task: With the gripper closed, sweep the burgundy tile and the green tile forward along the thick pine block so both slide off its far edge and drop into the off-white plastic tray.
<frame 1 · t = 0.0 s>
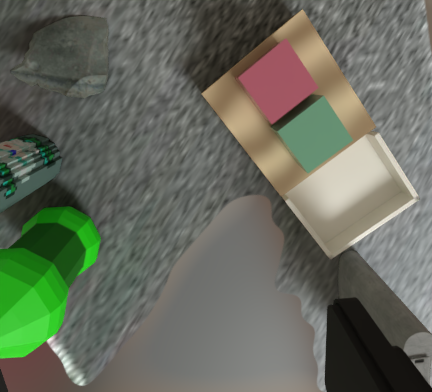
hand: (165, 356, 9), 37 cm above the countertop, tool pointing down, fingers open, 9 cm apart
plastic bottle: (72, 229, 48), on the countertop
hip flask: (350, 295, 54), on the countertop
green tile: (305, 130, 41), point 4 cm above the countertop, touching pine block
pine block: (283, 108, 44), on the countertop
stone: (75, 52, 41), on the countertop
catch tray: (342, 191, 48), on the countertop
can: (38, 158, 45), on the countertop
burgundy tile: (271, 82, 39), point 4 cm above the countertop, touching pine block
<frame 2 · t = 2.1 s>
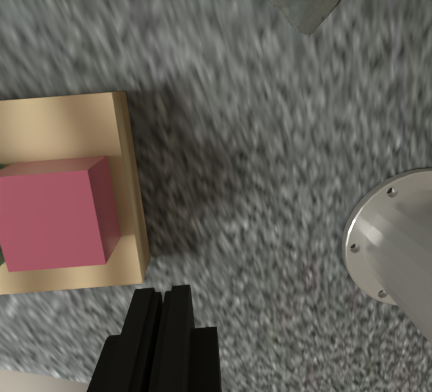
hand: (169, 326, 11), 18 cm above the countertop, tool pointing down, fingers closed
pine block: (40, 188, 28), on the countertop
burgundy tile: (71, 201, 24), point 4 cm above the countertop, touching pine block
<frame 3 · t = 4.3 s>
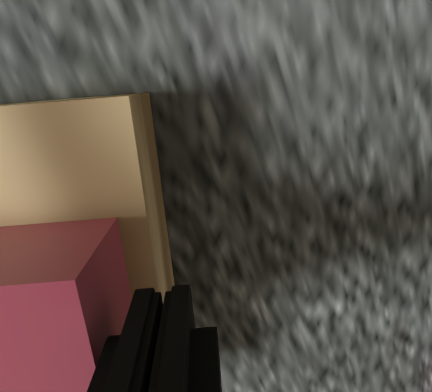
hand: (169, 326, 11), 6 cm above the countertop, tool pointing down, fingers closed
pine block: (5, 255, 17), on the countertop
burgundy tile: (51, 297, 13), point 4 cm above the countertop, touching gripper, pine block
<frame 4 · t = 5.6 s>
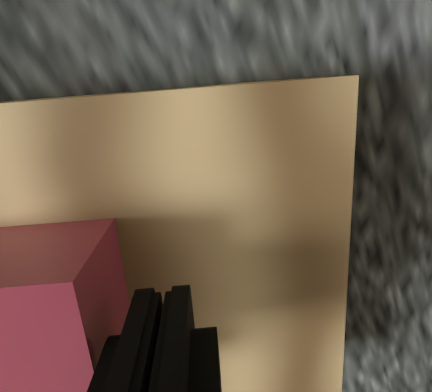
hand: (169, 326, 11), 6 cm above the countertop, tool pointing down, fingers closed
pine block: (151, 242, 17), on the countertop
burgundy tile: (47, 298, 13), point 4 cm above the countertop, touching gripper, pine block
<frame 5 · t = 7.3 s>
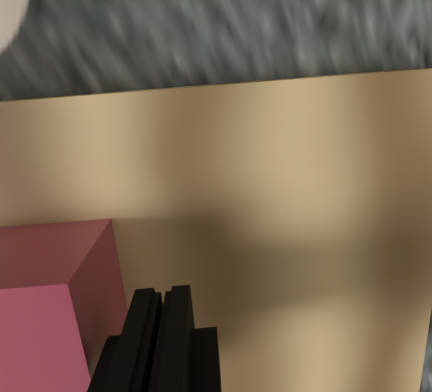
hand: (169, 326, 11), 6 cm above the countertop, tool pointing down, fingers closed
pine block: (220, 236, 17), on the countertop
burgundy tile: (43, 299, 13), point 4 cm above the countertop
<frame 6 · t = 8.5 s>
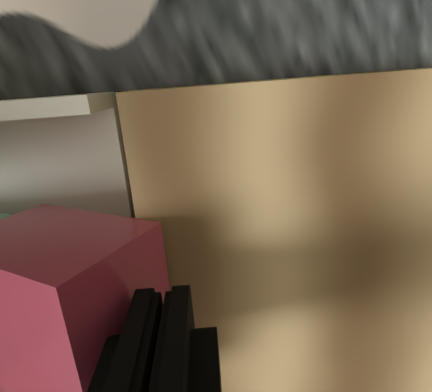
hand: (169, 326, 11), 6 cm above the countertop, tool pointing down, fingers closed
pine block: (325, 228, 17), on the countertop
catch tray: (23, 253, 16), on the countertop
burgundy tile: (109, 282, 14), point 3 cm above the countertop, tilted 31°, touching green tile, gripper
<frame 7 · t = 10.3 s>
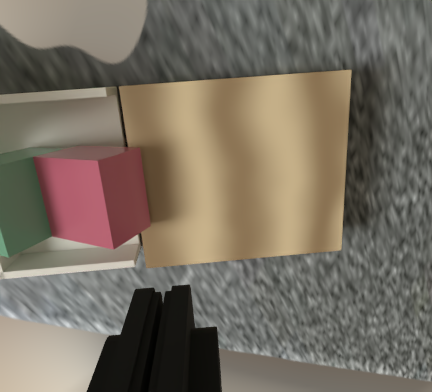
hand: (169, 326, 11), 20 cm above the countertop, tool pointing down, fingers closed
green tile: (38, 199, 24), point 5 cm above the countertop, tilted 121°, touching burgundy tile, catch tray
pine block: (234, 164, 29), on the countertop
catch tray: (64, 178, 29), on the countertop
burgundy tile: (114, 185, 26), point 3 cm above the countertop, tilted 31°, touching green tile, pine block
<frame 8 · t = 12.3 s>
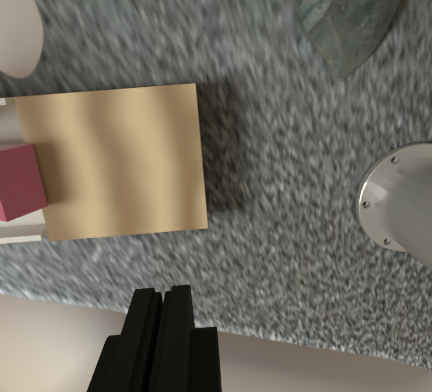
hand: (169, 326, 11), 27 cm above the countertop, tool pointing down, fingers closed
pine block: (126, 158, 36), on the countertop
stone: (348, 20, 33), on the countertop
burgundy tile: (20, 174, 33), point 3 cm above the countertop, tilted 31°, touching green tile, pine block
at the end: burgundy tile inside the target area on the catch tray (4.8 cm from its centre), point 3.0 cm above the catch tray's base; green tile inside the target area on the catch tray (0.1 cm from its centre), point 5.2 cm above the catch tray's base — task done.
